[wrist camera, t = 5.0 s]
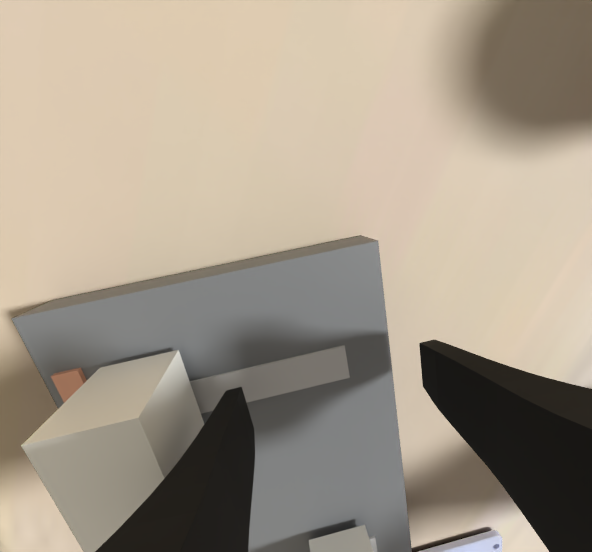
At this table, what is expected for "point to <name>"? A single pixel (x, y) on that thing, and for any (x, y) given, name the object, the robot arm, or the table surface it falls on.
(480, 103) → the table surface
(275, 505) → the switch panel
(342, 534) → the switch
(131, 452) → the switch
